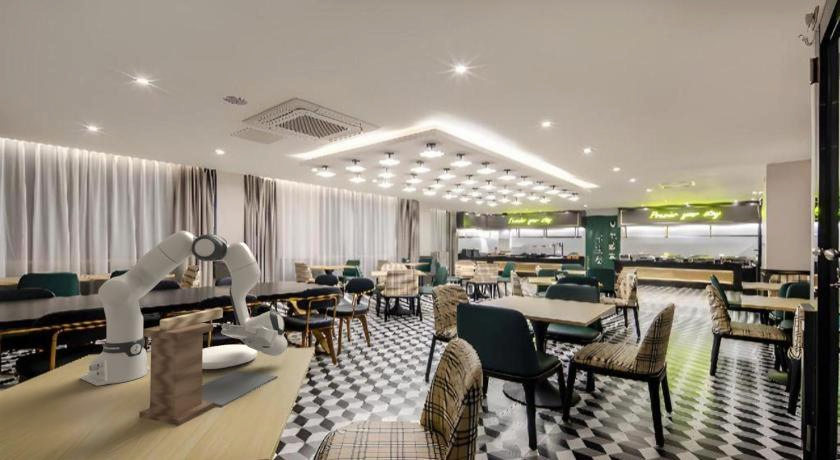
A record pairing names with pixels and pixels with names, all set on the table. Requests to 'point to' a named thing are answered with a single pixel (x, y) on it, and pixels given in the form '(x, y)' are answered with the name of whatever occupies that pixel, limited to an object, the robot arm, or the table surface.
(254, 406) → the table surface
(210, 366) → the plate
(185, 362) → the stand
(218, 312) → the rod
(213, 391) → the mat
